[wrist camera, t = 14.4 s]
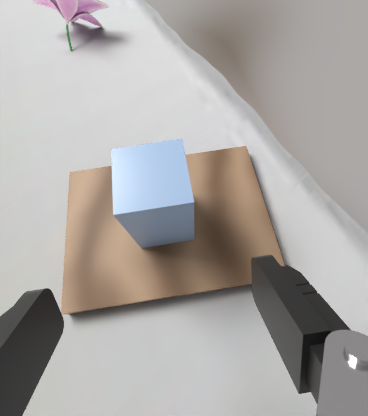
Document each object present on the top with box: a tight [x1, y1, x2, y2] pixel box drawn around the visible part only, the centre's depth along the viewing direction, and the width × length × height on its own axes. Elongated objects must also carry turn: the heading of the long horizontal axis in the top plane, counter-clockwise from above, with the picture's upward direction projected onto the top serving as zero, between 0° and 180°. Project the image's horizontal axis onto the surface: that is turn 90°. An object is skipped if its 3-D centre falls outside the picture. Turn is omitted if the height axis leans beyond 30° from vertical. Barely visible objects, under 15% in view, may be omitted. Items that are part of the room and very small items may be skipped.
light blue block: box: [111, 139, 194, 248], centre depth 21 cm, size 6×6×9 cm
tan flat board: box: [61, 146, 285, 314], centre depth 23 cm, size 22×16×8 cm
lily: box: [33, 0, 108, 51], centre depth 39 cm, size 12×12×10 cm
